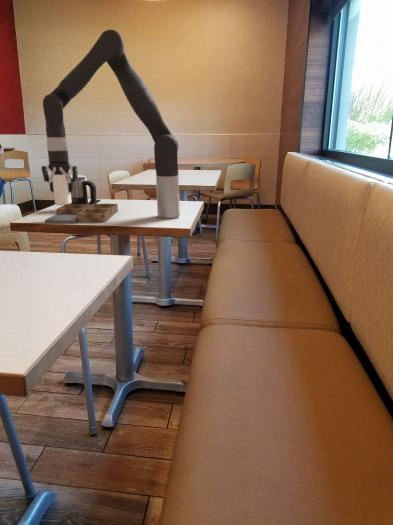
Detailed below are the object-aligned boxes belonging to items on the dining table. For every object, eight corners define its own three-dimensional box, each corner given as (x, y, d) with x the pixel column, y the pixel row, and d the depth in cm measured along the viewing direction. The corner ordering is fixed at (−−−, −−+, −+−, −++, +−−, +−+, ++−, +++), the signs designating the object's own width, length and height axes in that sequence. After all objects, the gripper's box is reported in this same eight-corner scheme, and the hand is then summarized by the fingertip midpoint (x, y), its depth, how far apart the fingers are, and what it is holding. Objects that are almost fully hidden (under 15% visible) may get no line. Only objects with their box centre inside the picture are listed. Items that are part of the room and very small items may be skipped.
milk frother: (66, 212, 185) (62, 179, 181) (72, 205, 200) (69, 175, 196) (98, 211, 187) (95, 178, 182) (101, 205, 202) (99, 174, 197)
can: (66, 205, 162) (63, 174, 158) (52, 204, 163) (48, 174, 160) (74, 202, 168) (71, 173, 164) (60, 202, 169) (57, 172, 166)
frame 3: (118, 211, 186) (117, 203, 185) (112, 216, 175) (111, 208, 174) (93, 211, 186) (93, 203, 185) (86, 216, 175) (85, 208, 174)
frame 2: (111, 216, 174) (111, 208, 173) (105, 222, 164) (104, 213, 163) (85, 216, 175) (85, 208, 174) (77, 222, 164) (76, 213, 163)
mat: (83, 217, 173) (83, 214, 173) (74, 223, 162) (74, 220, 161) (56, 217, 174) (55, 214, 173) (44, 223, 162) (44, 220, 162)
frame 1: (90, 212, 184) (90, 204, 183) (83, 217, 174) (82, 208, 173) (66, 212, 185) (65, 204, 184) (57, 217, 174) (56, 208, 173)
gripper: (78, 149, 162) (82, 191, 168) (43, 149, 163) (48, 190, 168) (72, 149, 155) (76, 193, 160) (35, 149, 156) (40, 193, 161)
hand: (62, 192), depth 164 cm, fingers closed on can, 6 cm apart
